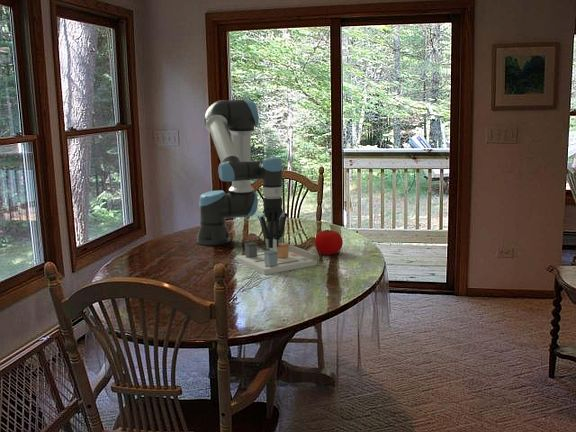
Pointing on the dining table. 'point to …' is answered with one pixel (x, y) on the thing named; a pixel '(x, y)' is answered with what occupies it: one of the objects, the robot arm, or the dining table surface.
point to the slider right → (270, 257)
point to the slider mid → (282, 250)
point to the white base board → (280, 261)
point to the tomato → (328, 242)
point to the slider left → (250, 249)
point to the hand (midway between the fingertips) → (273, 255)
